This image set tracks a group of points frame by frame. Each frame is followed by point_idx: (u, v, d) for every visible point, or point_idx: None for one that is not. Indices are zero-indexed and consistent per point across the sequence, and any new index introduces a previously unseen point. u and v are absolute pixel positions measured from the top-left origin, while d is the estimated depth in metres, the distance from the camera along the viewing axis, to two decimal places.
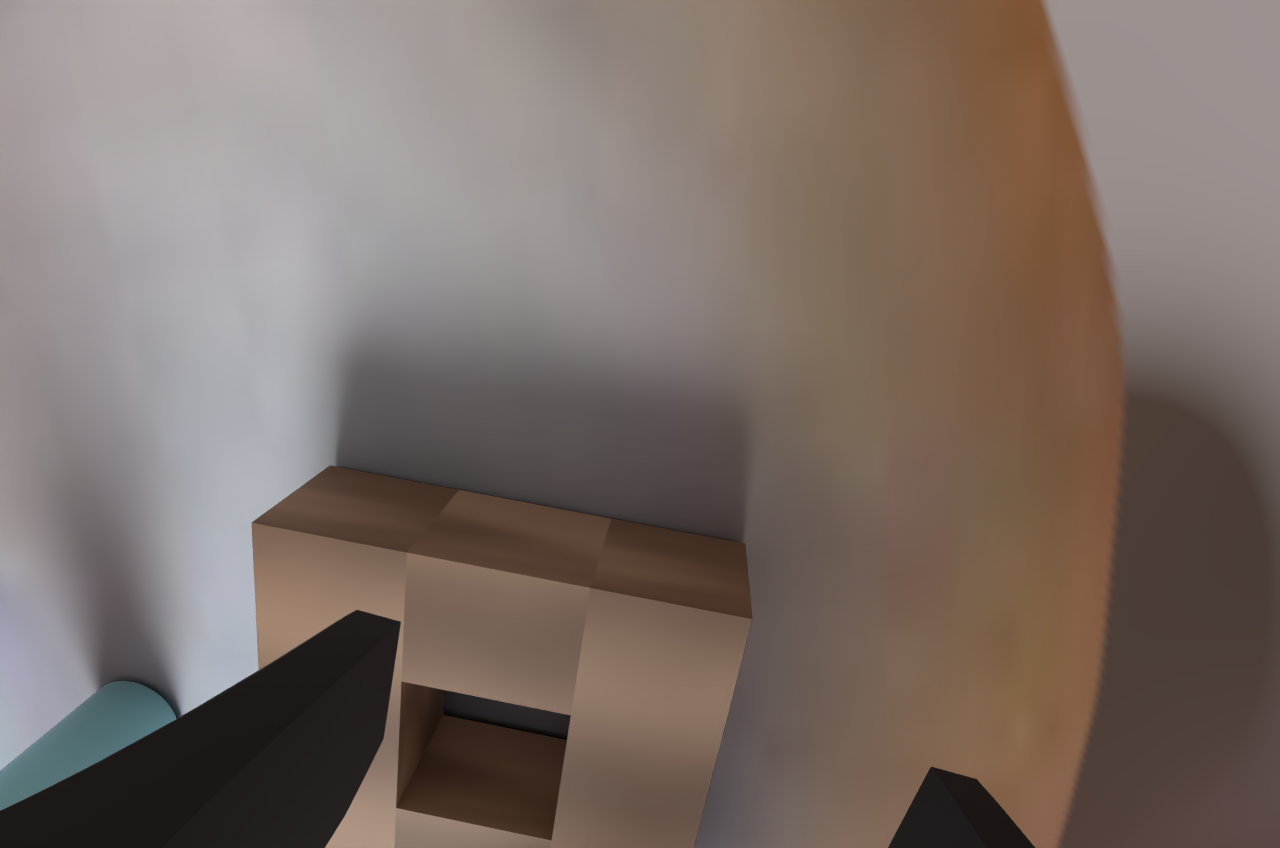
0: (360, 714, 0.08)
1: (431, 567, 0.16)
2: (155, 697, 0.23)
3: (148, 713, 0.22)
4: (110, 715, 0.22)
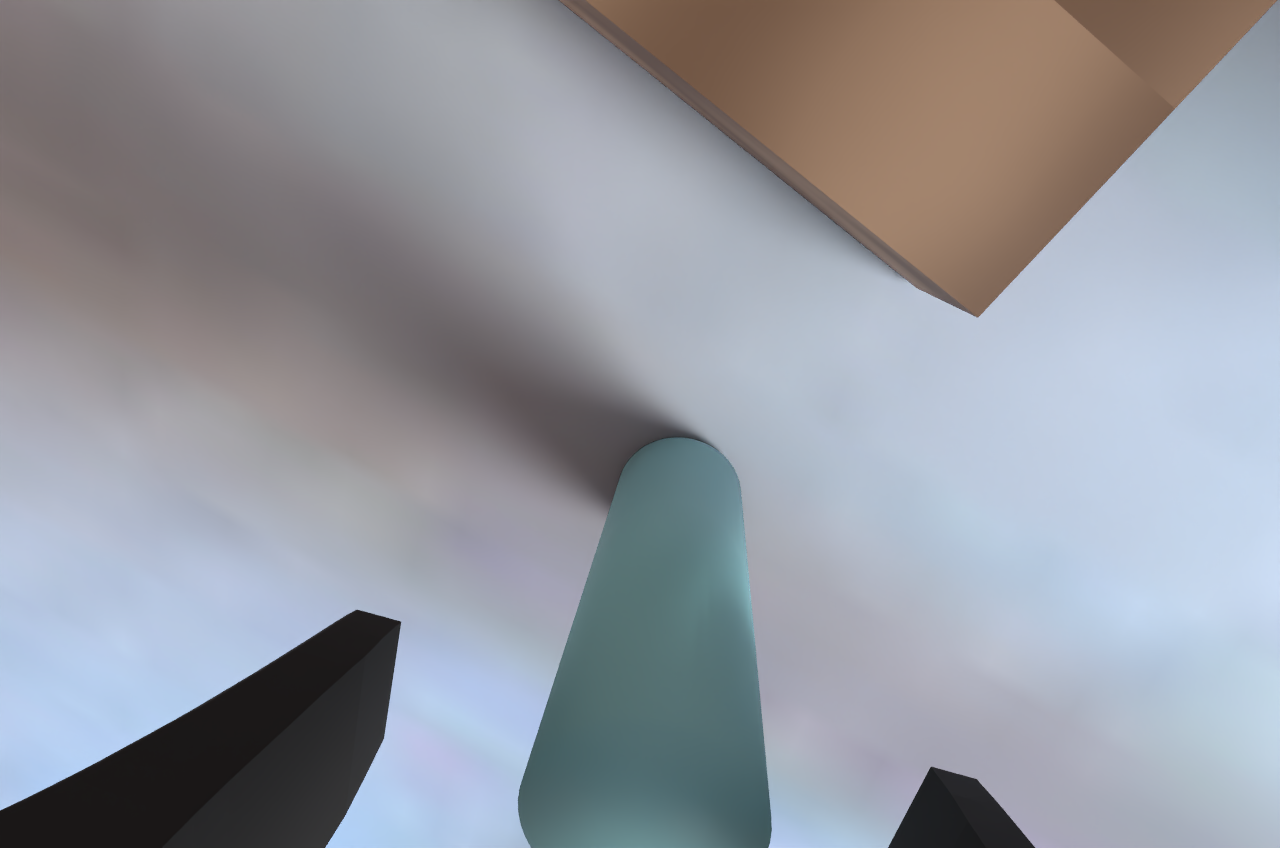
0: (360, 714, 0.08)
1: None
2: (662, 440, 0.16)
3: (670, 448, 0.15)
4: (636, 471, 0.15)
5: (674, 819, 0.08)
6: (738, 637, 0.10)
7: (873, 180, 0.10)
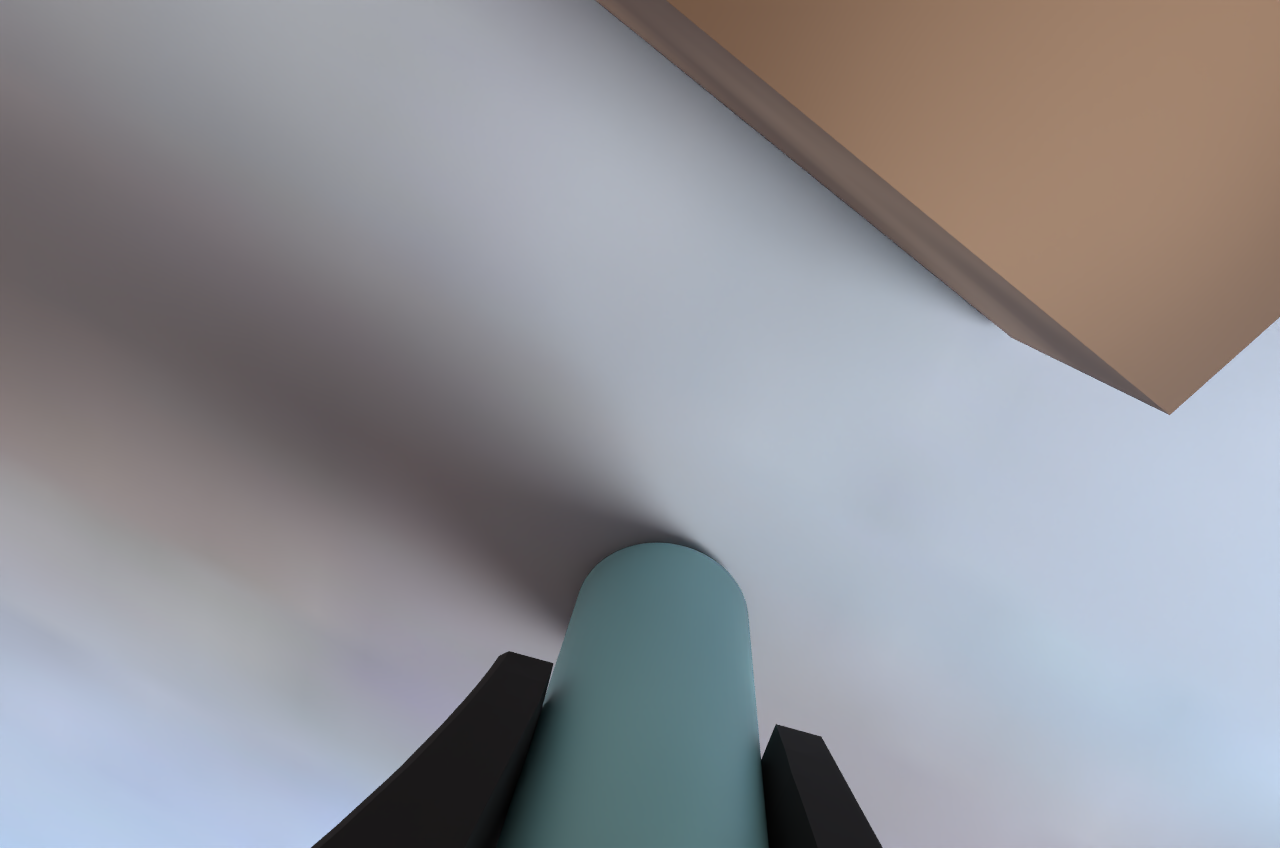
0: (524, 759, 0.08)
1: None
2: (636, 548, 0.11)
3: (647, 564, 0.11)
4: (596, 603, 0.10)
5: None
6: None
7: (998, 175, 0.06)
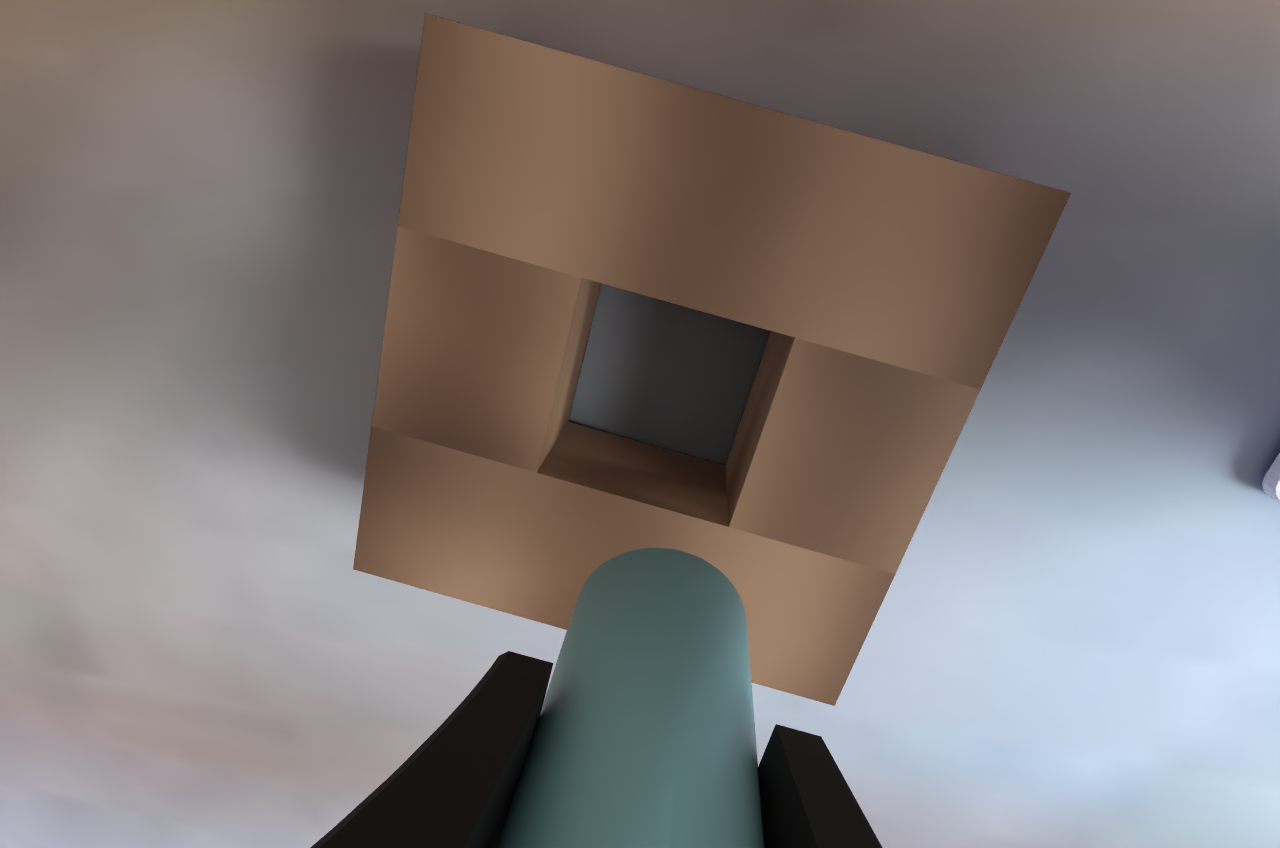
0: (524, 759, 0.08)
1: (386, 404, 0.15)
2: (630, 554, 0.11)
3: (641, 569, 0.11)
4: (591, 611, 0.10)
5: None
6: None
7: None
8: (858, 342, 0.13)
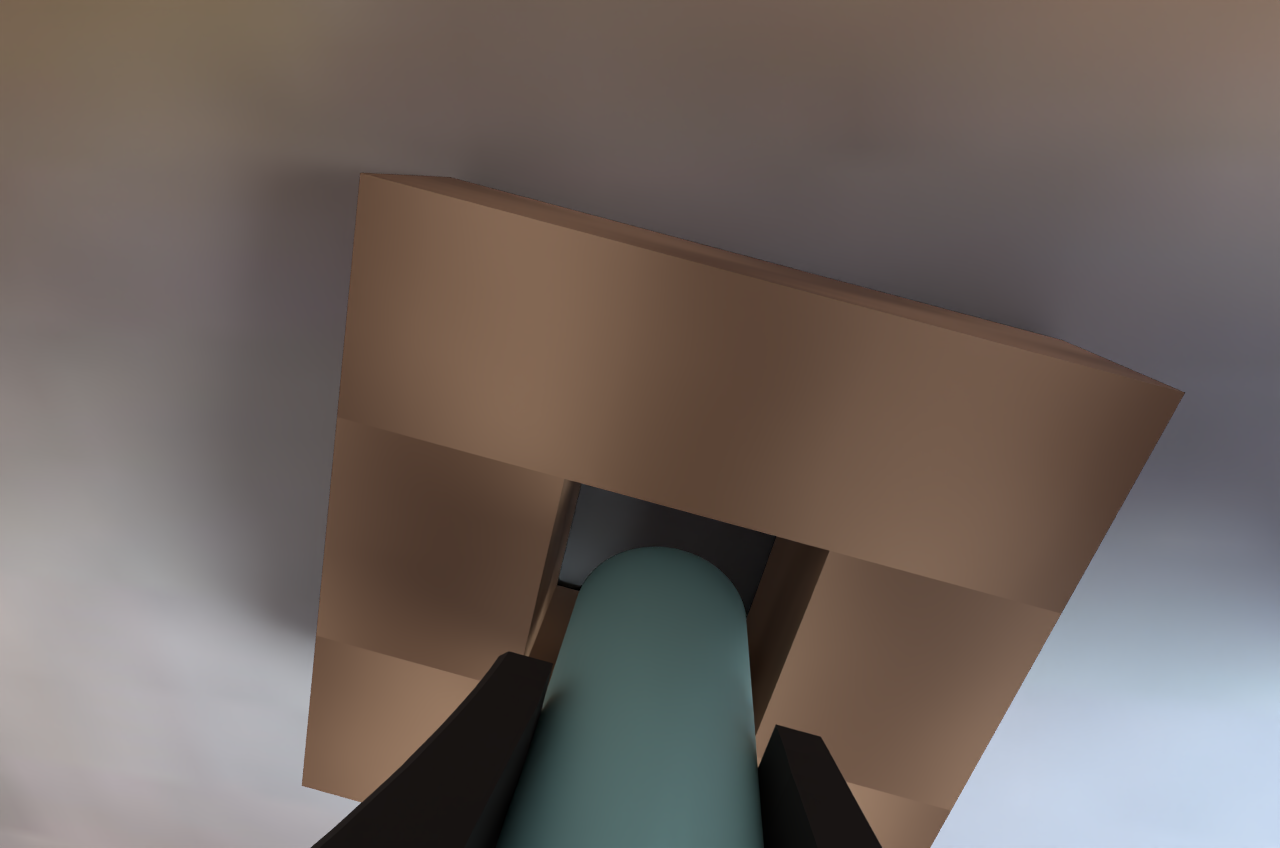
0: (524, 759, 0.08)
1: (332, 612, 0.12)
2: (630, 553, 0.11)
3: (641, 568, 0.11)
4: (590, 610, 0.10)
5: None
6: None
7: None
8: (909, 557, 0.11)
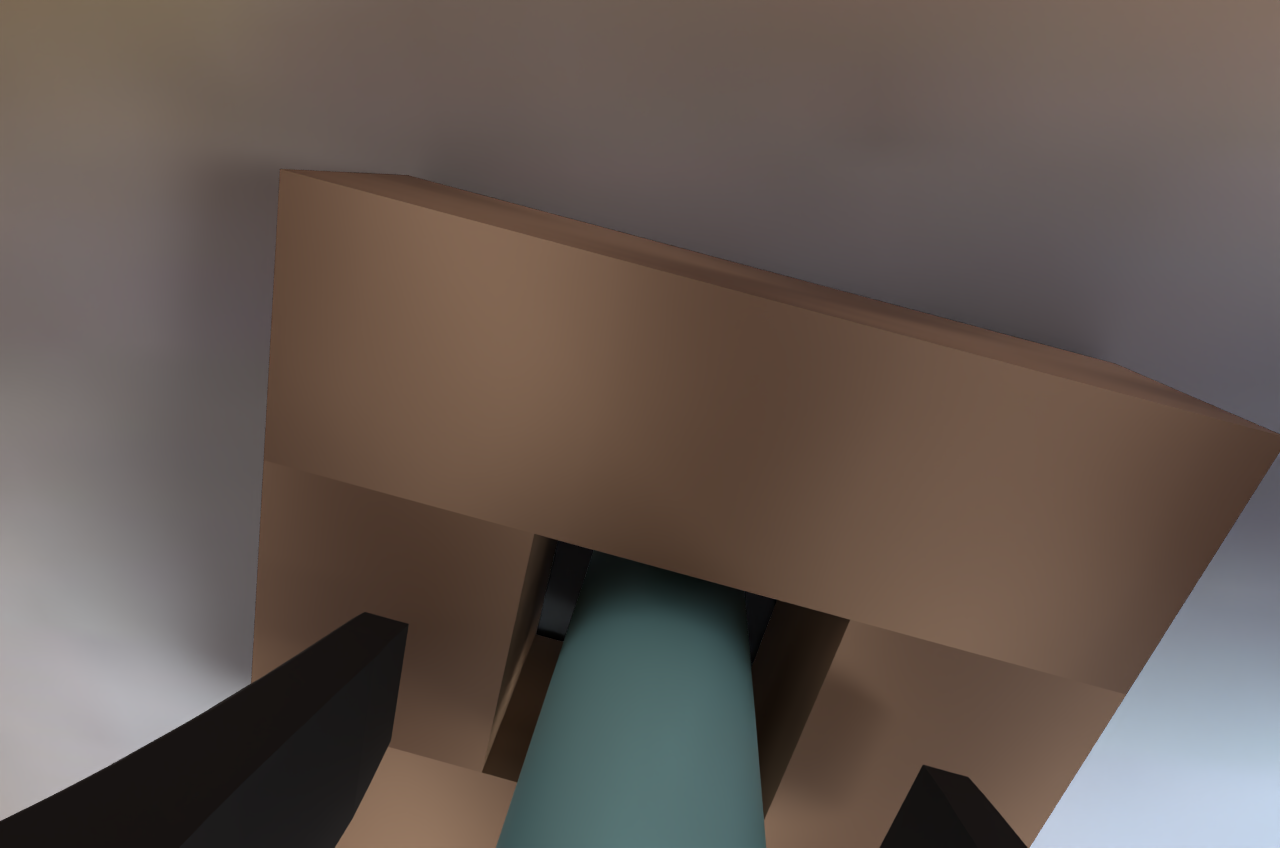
0: (368, 716, 0.08)
1: None
2: None
3: None
4: (606, 558, 0.12)
5: None
6: None
7: None
8: (945, 628, 0.09)
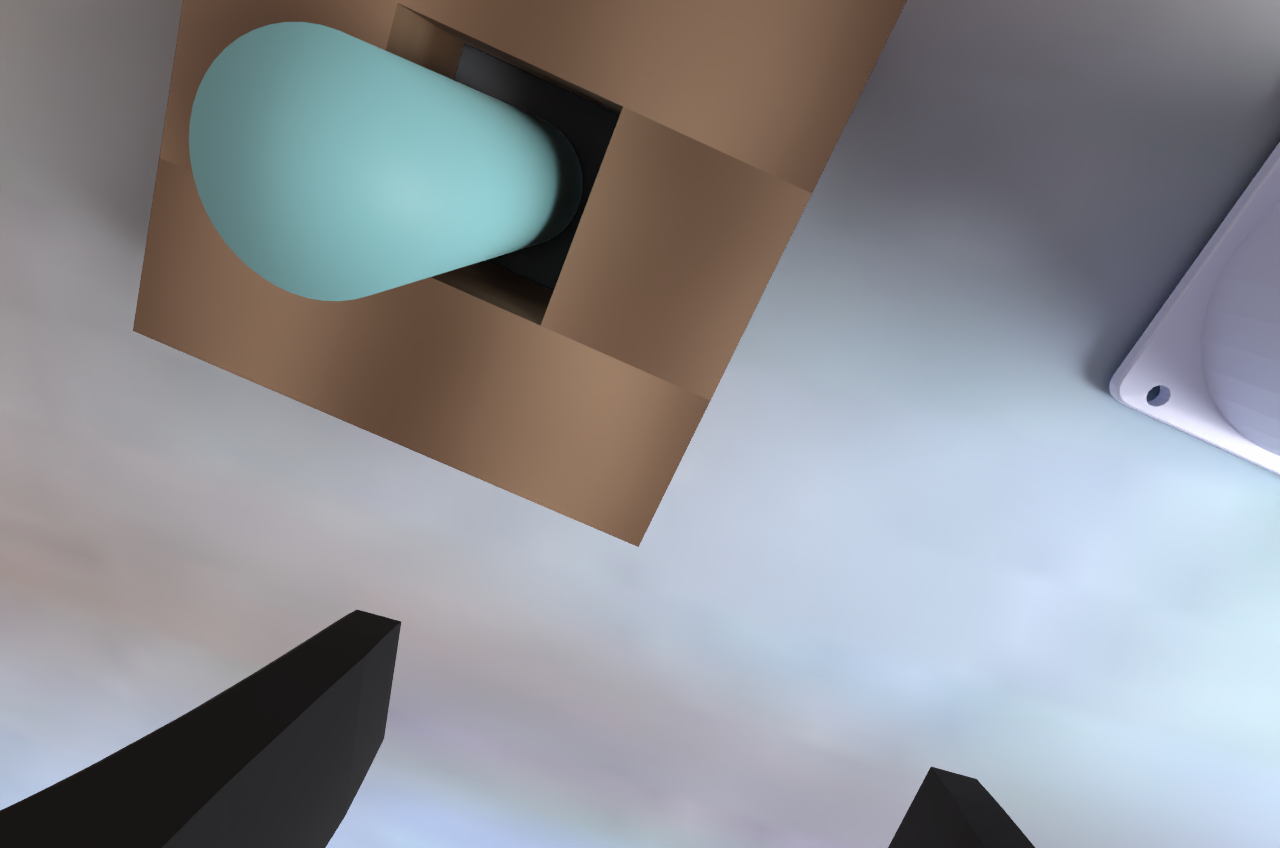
0: (360, 714, 0.08)
1: (176, 132, 0.13)
2: None
3: None
4: None
5: (345, 168, 0.08)
6: (479, 113, 0.10)
7: (534, 477, 0.15)
8: (689, 120, 0.12)
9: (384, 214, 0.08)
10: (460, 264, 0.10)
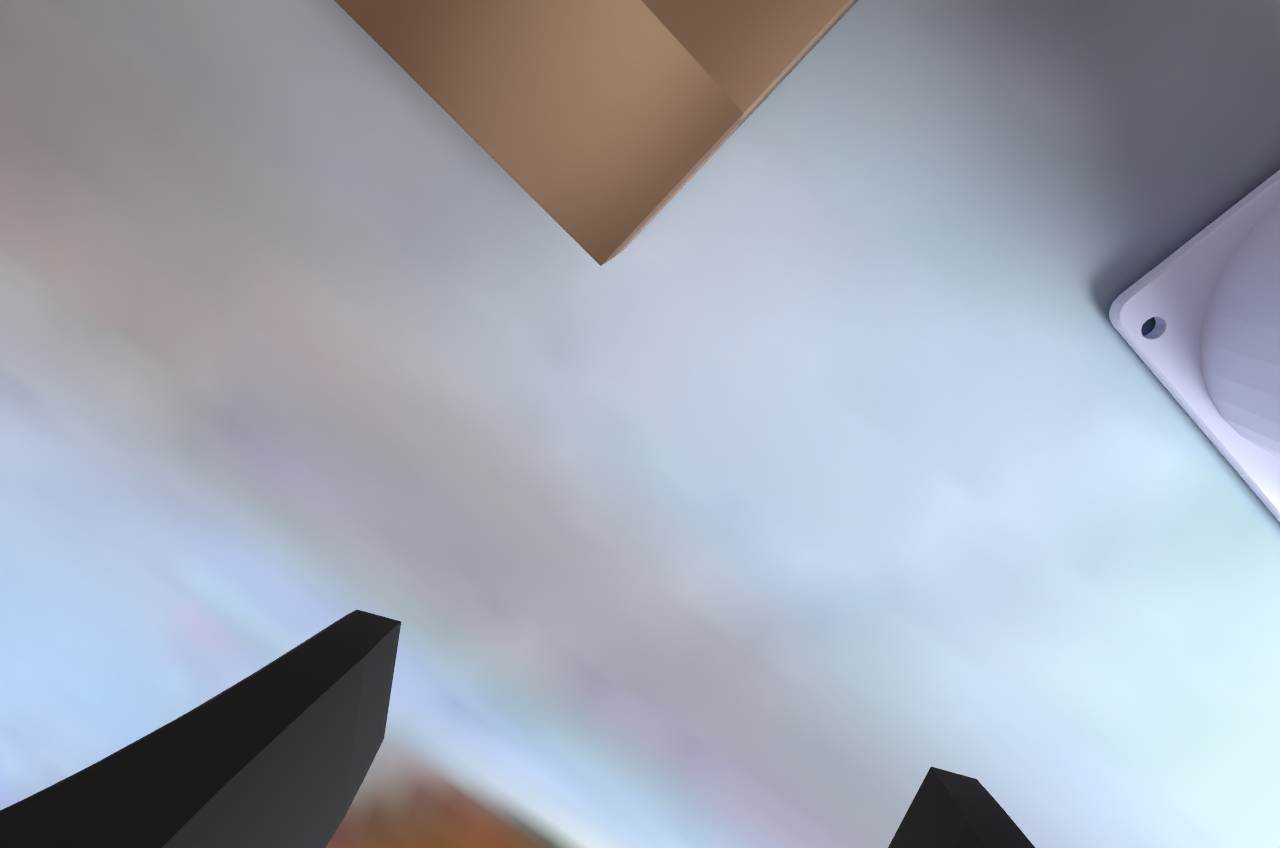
0: (360, 714, 0.08)
1: None
2: None
3: None
4: None
5: None
6: None
7: (515, 137, 0.13)
8: None
9: None
10: None
